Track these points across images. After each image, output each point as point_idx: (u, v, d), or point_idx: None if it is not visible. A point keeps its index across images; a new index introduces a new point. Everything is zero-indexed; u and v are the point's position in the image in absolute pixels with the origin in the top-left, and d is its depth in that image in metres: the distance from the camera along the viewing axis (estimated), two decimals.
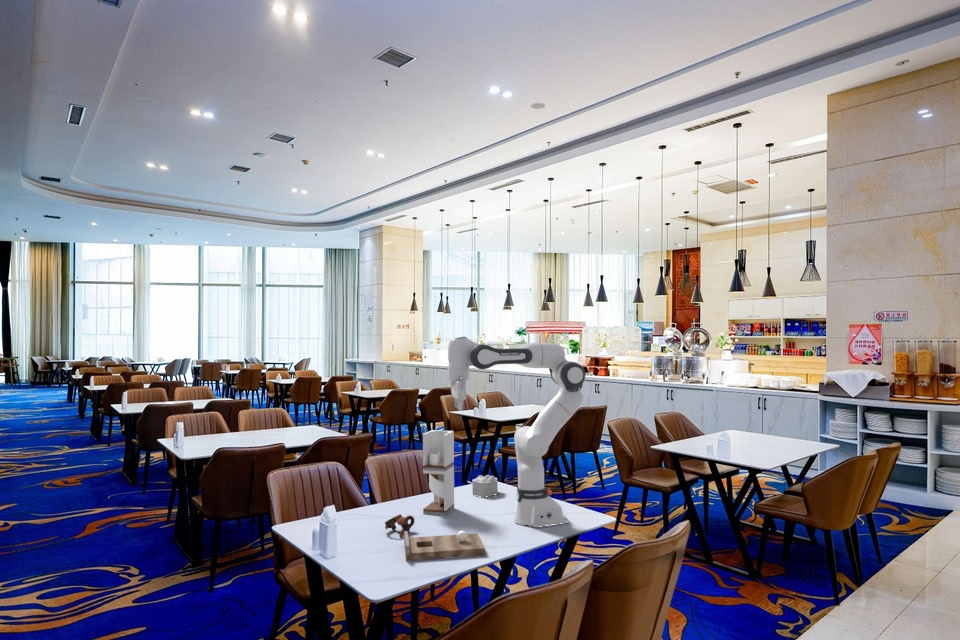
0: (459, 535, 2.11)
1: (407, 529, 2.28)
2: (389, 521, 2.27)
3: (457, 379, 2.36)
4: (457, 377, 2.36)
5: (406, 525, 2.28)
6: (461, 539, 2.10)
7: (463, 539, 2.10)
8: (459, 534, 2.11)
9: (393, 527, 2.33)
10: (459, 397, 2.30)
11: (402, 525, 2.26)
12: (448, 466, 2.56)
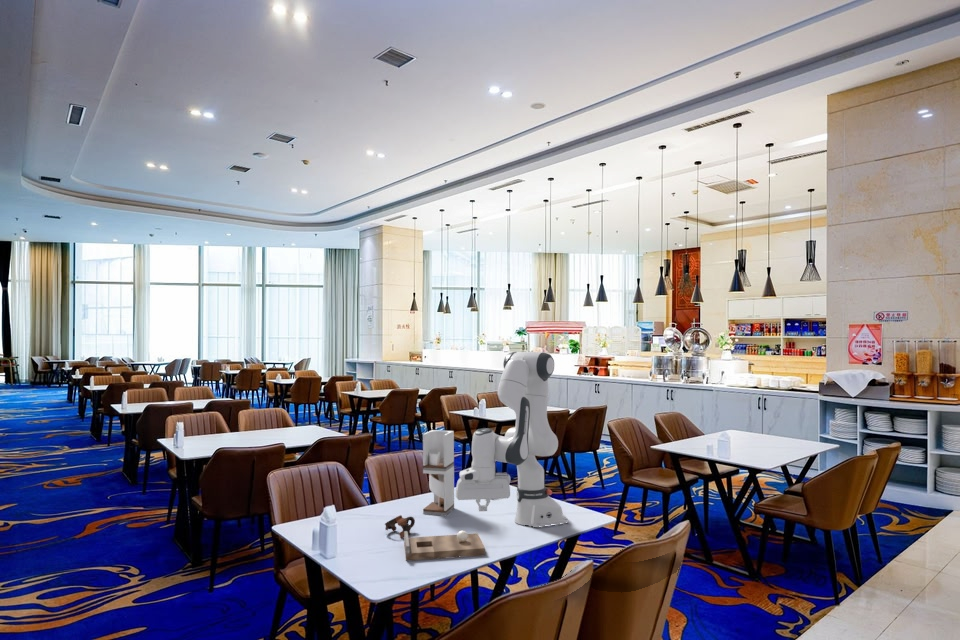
0: (459, 535, 2.11)
1: (407, 530, 2.27)
2: (389, 522, 2.26)
3: (494, 476, 2.14)
4: (495, 474, 2.14)
5: (406, 526, 2.27)
6: (461, 539, 2.10)
7: (463, 539, 2.10)
8: (459, 534, 2.11)
9: (393, 528, 2.32)
10: None
11: (402, 526, 2.25)
12: (448, 466, 2.56)
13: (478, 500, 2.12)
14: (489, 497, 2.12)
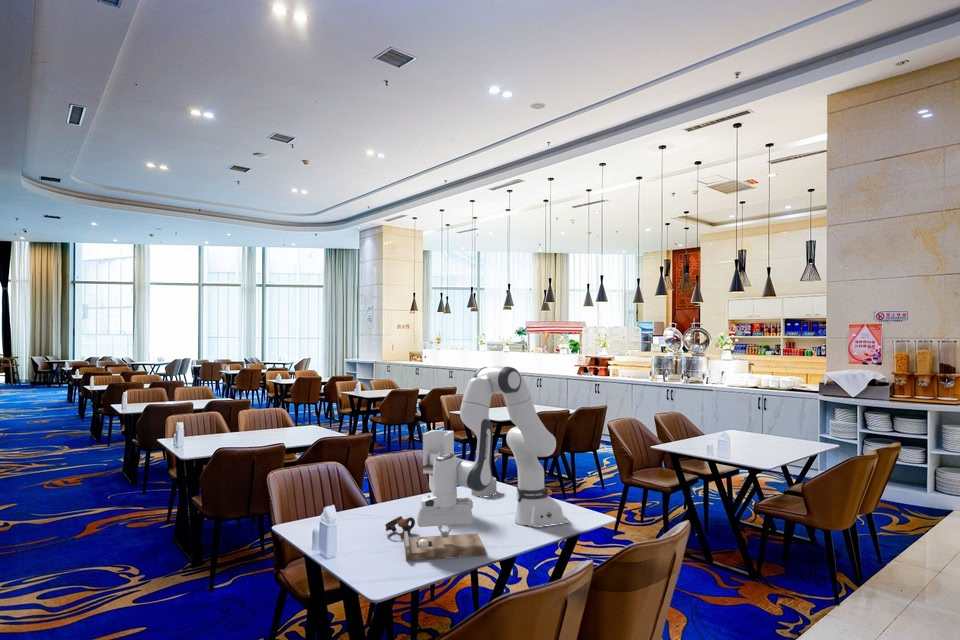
0: None
1: (408, 531, 2.26)
2: (390, 523, 2.25)
3: (456, 502, 2.11)
4: (456, 500, 2.11)
5: (407, 527, 2.26)
6: None
7: (425, 546, 2.08)
8: None
9: (393, 529, 2.31)
10: None
11: (403, 527, 2.24)
12: None
13: (440, 526, 2.10)
14: (451, 523, 2.10)
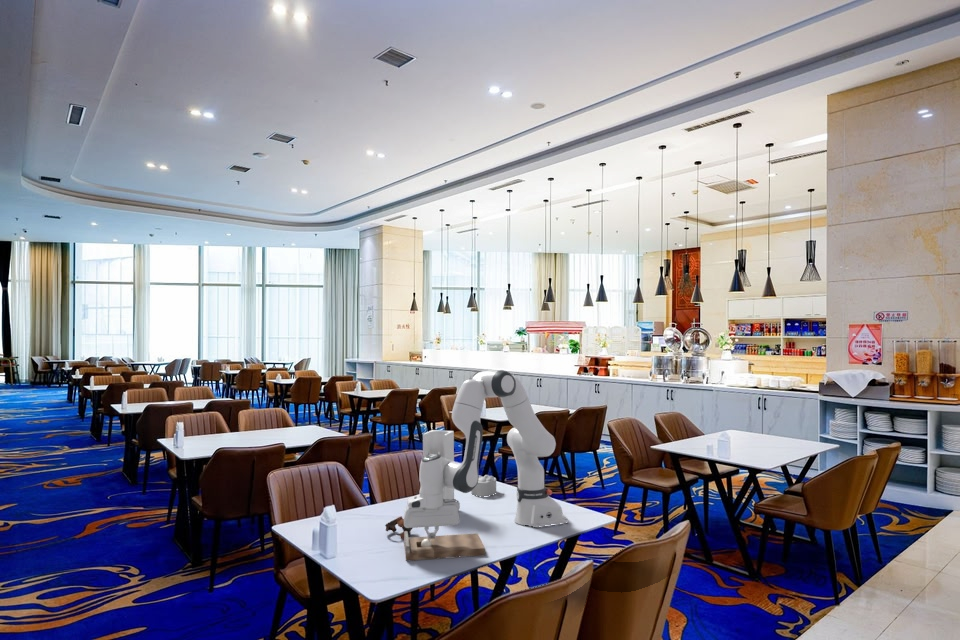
0: (422, 546, 2.08)
1: (408, 531, 2.25)
2: (390, 523, 2.24)
3: (443, 503, 2.10)
4: (443, 501, 2.10)
5: None
6: None
7: None
8: (422, 545, 2.08)
9: (393, 529, 2.31)
10: None
11: (403, 527, 2.24)
12: None
13: (426, 528, 2.09)
14: (437, 524, 2.09)
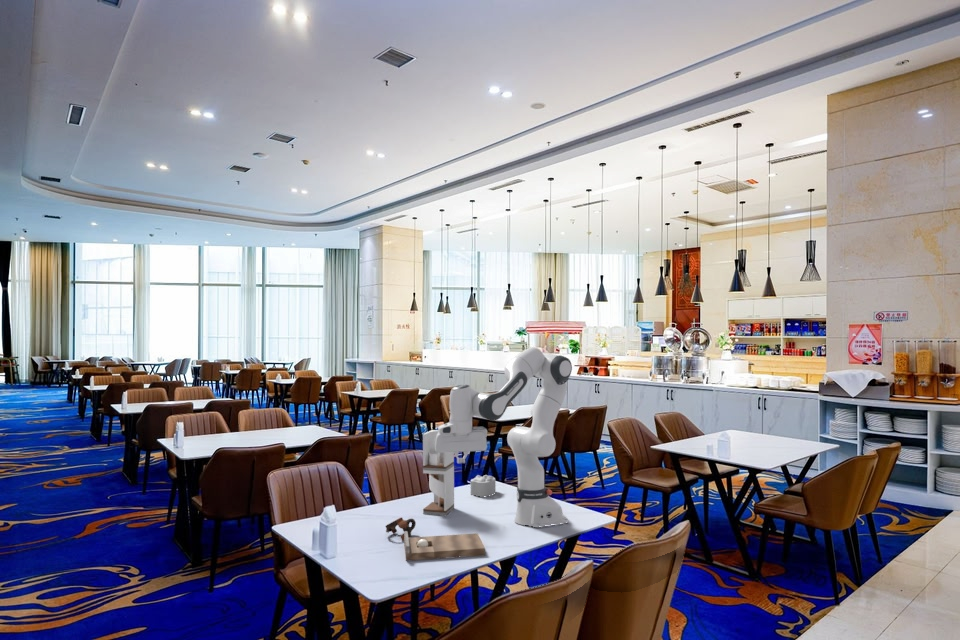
0: None
1: (409, 532, 2.24)
2: (390, 524, 2.23)
3: (472, 430, 2.23)
4: (472, 428, 2.23)
5: (407, 528, 2.24)
6: None
7: (424, 546, 2.08)
8: None
9: (394, 530, 2.29)
10: (486, 447, 2.24)
11: (404, 528, 2.22)
12: (448, 466, 2.56)
13: (456, 452, 2.22)
14: (467, 449, 2.22)
